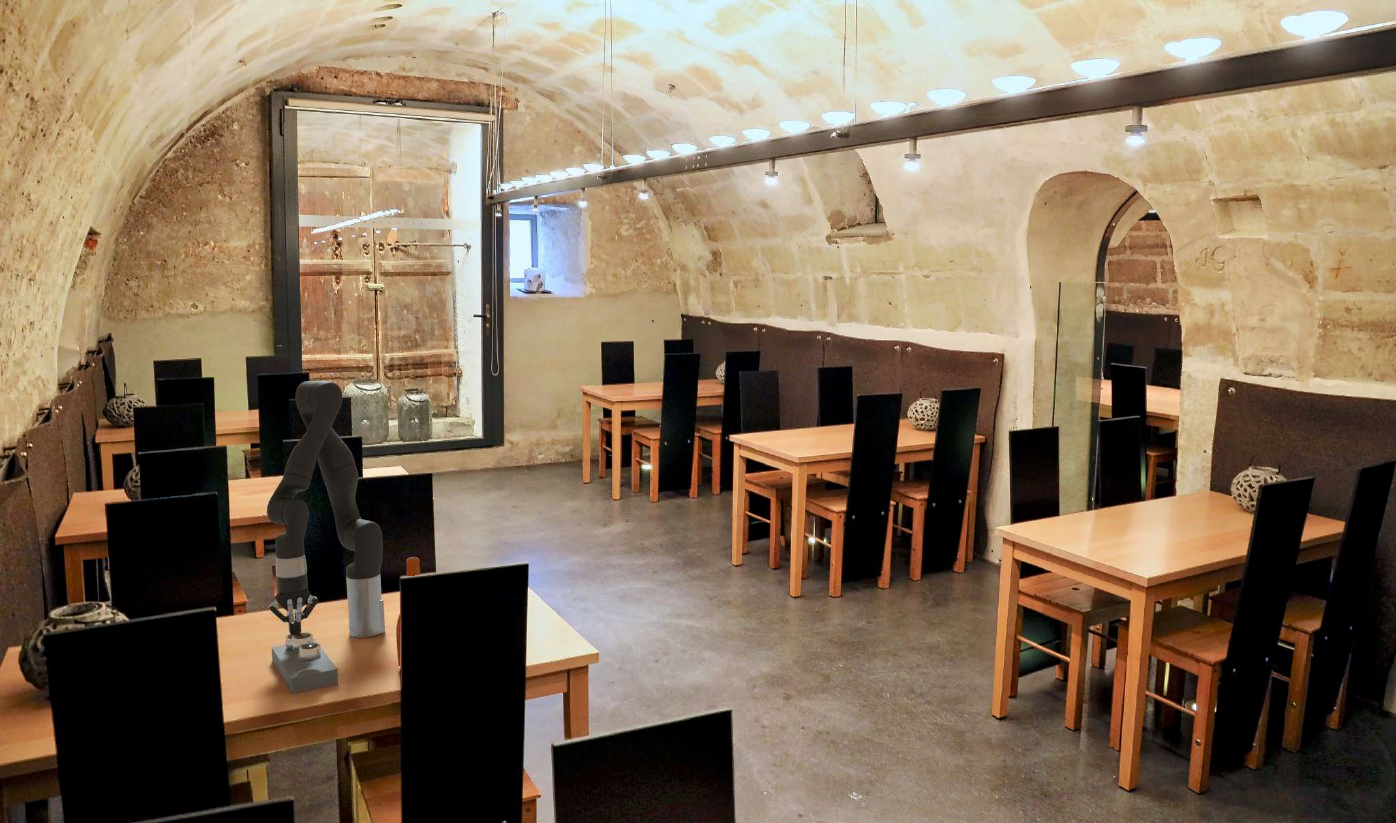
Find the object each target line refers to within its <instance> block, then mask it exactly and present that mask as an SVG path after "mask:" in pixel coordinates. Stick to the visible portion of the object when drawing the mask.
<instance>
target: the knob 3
mask: <svg viewBox="0 0 1396 823" xmlns="http://www.w3.org/2000/svg"><path fill="white" fill-rule="evenodd" d="M320 647H321V644H320V643H318V642H317V643H307V644H303V645H301V646H300V647H299V653H300V660H301V661H305V662H308V661H314V660H317V659H319V658H321V648H322V647H321V648H320Z"/></svg>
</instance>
